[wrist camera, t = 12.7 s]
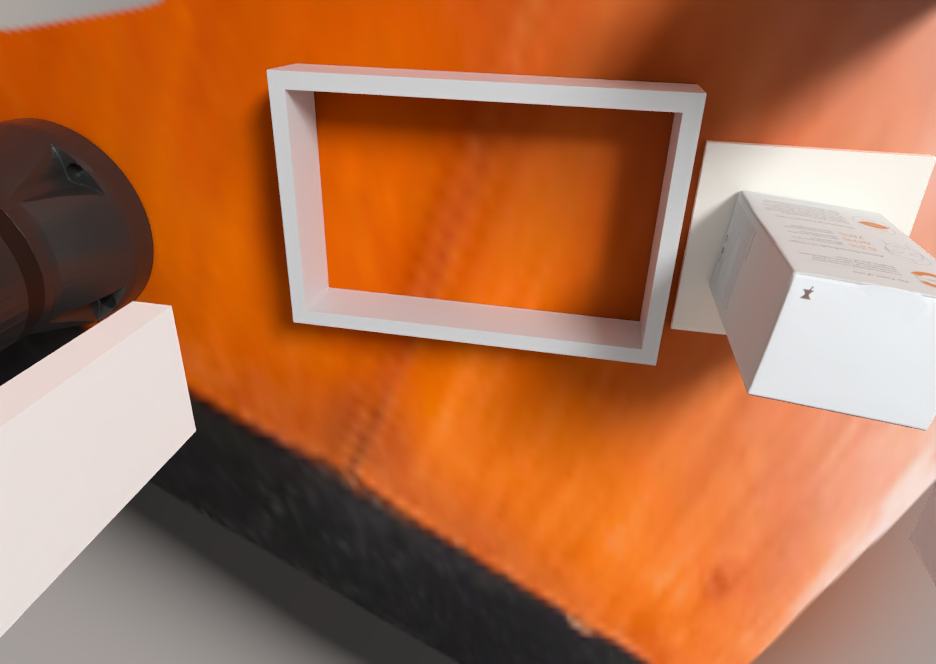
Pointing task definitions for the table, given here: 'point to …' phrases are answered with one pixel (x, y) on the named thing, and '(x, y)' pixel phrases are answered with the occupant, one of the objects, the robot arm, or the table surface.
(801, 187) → the tile
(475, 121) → the table surface
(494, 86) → the bin
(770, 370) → the small box
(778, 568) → the table surface
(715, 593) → the table surface
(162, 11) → the table surface
